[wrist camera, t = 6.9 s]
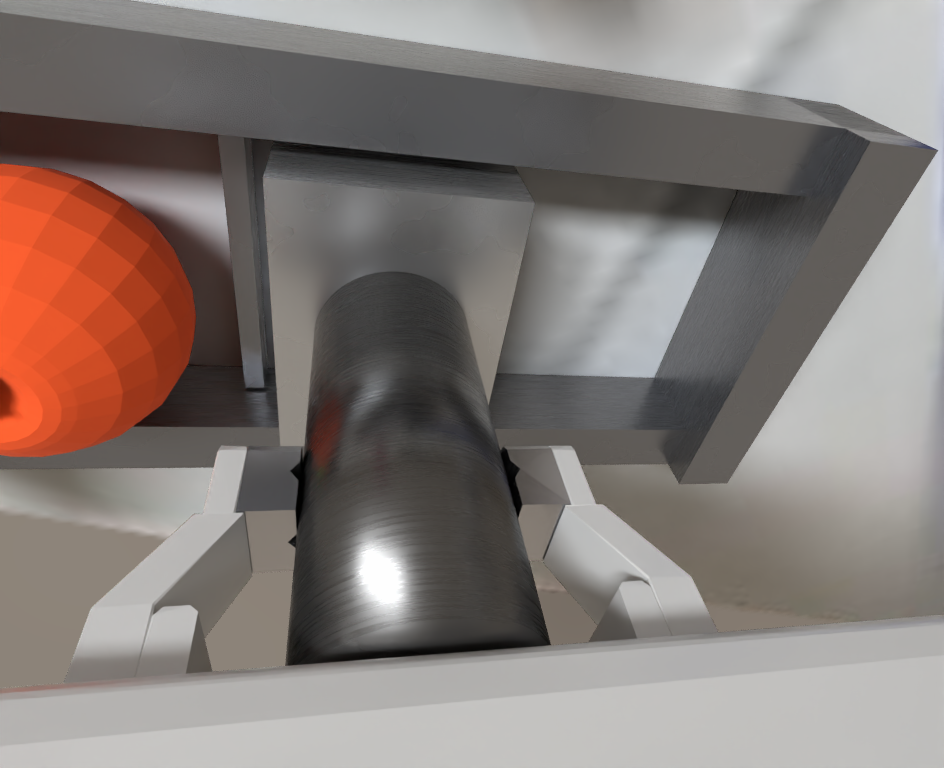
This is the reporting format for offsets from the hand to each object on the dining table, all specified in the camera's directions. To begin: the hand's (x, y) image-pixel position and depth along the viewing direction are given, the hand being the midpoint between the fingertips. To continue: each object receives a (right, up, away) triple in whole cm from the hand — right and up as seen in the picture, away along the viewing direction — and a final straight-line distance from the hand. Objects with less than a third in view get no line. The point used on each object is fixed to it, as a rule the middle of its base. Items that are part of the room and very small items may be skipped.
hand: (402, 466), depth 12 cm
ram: (-1, +5, +6) cm, 8 cm away
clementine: (-10, +6, +5) cm, 13 cm away
